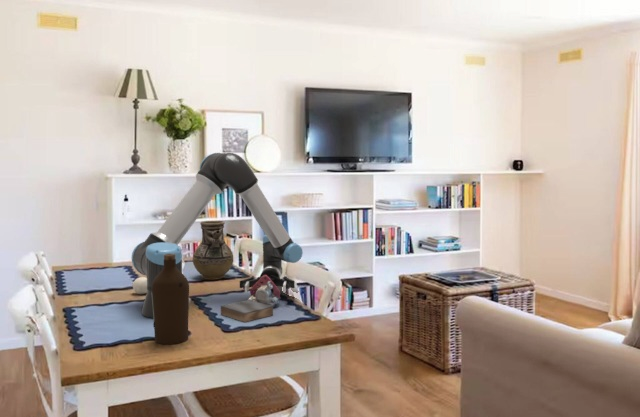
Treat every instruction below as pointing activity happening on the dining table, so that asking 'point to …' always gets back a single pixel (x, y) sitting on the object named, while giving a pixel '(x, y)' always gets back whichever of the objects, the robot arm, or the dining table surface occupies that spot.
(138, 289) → the baseball
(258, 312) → the stand
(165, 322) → the olive oil
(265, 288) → the brake caliper
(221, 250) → the decorative pitcher
